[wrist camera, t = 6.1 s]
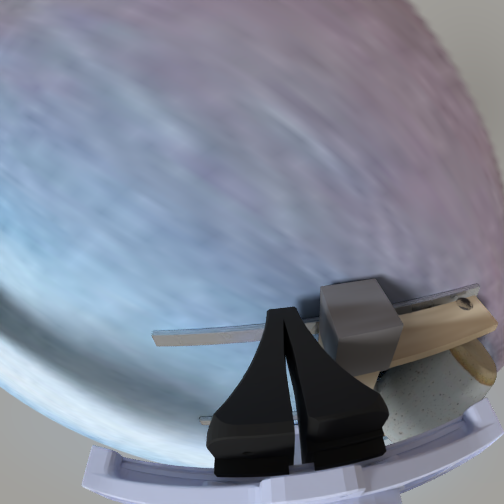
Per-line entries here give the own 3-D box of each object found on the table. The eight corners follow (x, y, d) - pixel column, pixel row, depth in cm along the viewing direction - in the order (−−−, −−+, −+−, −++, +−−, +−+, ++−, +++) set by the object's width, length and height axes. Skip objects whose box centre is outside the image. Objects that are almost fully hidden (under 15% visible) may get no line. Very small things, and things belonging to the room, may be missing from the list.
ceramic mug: (471, 322, 17) (514, 386, 10) (412, 384, 20) (438, 448, 14) (397, 287, 15) (456, 385, 8) (327, 370, 18) (346, 463, 12)
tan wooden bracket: (426, 390, 20) (439, 419, 17) (311, 419, 21) (316, 455, 17) (485, 255, 13) (519, 287, 10) (319, 284, 14) (338, 338, 10)
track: (431, 383, 21) (432, 386, 21) (202, 421, 22) (202, 424, 22) (477, 283, 15) (480, 286, 15) (153, 331, 16) (151, 335, 16)
